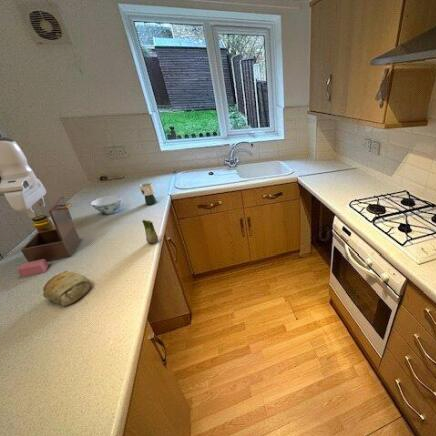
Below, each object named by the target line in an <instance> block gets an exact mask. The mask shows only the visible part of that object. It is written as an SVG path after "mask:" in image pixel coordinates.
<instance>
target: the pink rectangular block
mask: <svg viewBox="0 0 436 436" xmlns="http://www.w3.org/2000/svg"><path fill="white" fill-rule="evenodd" d="M48 268H49V264H48V261H47V262H46V260H45V259H42V260H37V261H32V262H28V261H27V262H23V263H21V265H20V266H19V267H18V268H17V269H16V271H17V272H18V274H19V275H20V277H21V278H25V277H28V276H33V275H37V274H41V273H45V272H46V270H47V269H48Z"/></svg>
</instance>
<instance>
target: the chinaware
mask: <svg viewBox="0 0 436 436" xmlns="http://www.w3.org/2000/svg"><path fill="white" fill-rule="evenodd" d="M122 199H123V198H122V196H121V195H107V196H102V197H99V198H97V199H94V200H92V201H91V203H90V204H91V206H92V207H93V208H94V209H95V210H96V211H98V212H100V213H103V214H104V215H111V214H115V213H117V212H118V210H119V208H121V205H122Z"/></svg>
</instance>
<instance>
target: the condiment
mask: <svg viewBox="0 0 436 436" xmlns="http://www.w3.org/2000/svg"><path fill="white" fill-rule="evenodd" d="M31 221H32V222H33V226H34V227H35V229H36V231H37V232H42V231H48V230H54V229H56V228H55V226H54V223H53V221H52V219H51V220H50V219H49V217H48V215H46V214H40V215H36V216H35V217H32V218H31Z"/></svg>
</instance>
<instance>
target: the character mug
mask: <svg viewBox="0 0 436 436" xmlns="http://www.w3.org/2000/svg"><path fill="white" fill-rule="evenodd" d="M139 189H140V193H141V195H142V196H144V201H145V204H146V205H153V204H155V203H157V199H156V197H155V195H154V194H155V189H154V186H153V183H152V182H145V183H141V184H139Z"/></svg>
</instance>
